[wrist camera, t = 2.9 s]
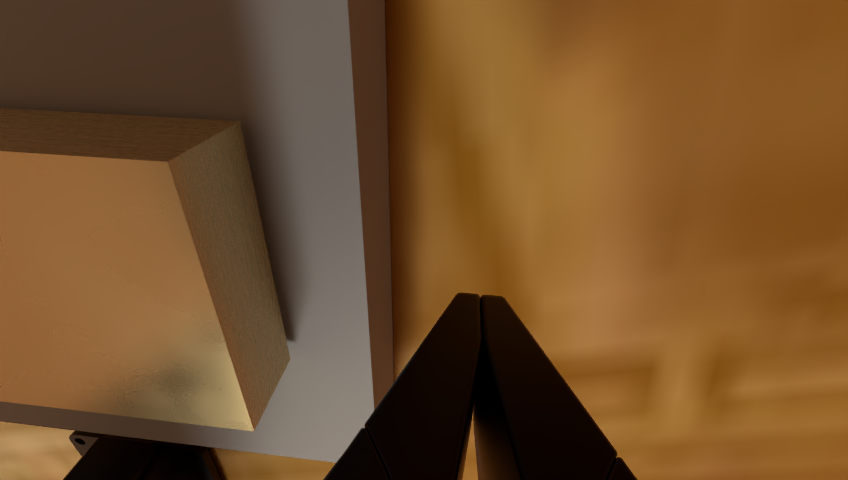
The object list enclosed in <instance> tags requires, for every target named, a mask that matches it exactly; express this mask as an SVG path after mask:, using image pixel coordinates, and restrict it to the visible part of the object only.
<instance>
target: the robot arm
mask: <svg viewBox="0 0 848 480" xmlns="http://www.w3.org/2000/svg"><path fill="white" fill-rule="evenodd" d="M472 414H473V421H474V436H475V447H476V459H477V470H478V480H637V479H636V477H635V476H634V475H633V473H632V472H631V470H630V469H629V468H628V466H627V465H626V464H625V462H624V461H623V459H622V458H620V457H617V452H616V450H615V449H614V447H613V446H612V445H611V443H610V442H609V441H608V439H607V438H606V436H605V435H604V434H603V432H602V431H601V430H600V428H599V427H598V425H597V424H596V423H595V421H594V420H593V419H592V417H591V416H590V414H589V413H588V412H587V410H586V409H585V408H584V406H583V405H582V404H581V402H580V401H579V399H578V398H577V397H576V395H575V394H574V393H573V391H572V390H571V388H570V387H569V386H568V384H567V383H566V382H565V380H564V379H563V377H562V376H561V375H560V373H559V372H558V371H557V369H556V368H555V366H554V365H553V364H552V362H551V361H550V360H549V358H548V357H547V356H546V354H545V353H544V351H543V350H542V349H541V347H540V346H539V345H538V343H537V342H536V340H535V339H534V338H533V336H532V335H531V334H530V332H529V331H528V329H527V328H526V327H525V325H524V324H523V323H522V321H521V320H520V318H519V317H518V316H517V314H516V313H515V312H514V310H513V309H512V308H511V306H510V305H509V303H508V302H507V301H506V299H505V298H504V297H502V296H494V295H482V296H481V298H480V296H479V295H478V294H471V293H458V294H457V295H456V296H455V297H454V298H453V300H452V301H451V303H450V304H449V306H448V307H447V308H446V310H445V311H444V313H443V314H442V315H441V317H440V318H439V320H438V321H437V322H436V324H435V325H434V327H433V328H432V330H431V331H430V332H429V334H428V335H427V337H426V338H425V339H424V341H423V342H422V344H421V345H420V346H419V348H418V349H417V351H416V352H415V353H414V355H413V356H412V358H411V359H410V361H409V362H408V363H407V365H406V366H405V368H404V369H403V370H402V372H401V373H400V375H399V376H398V377H397V379H396V380H395V382H394V383H393V385H392V386H391V387H390V389H389V390H388V392H387V393H386V394H385V396H384V397H383V399H382V400H381V401H380V403H379V404H378V406H377V407H376V409H375V410H374V411H373V413H372V414H371V416H370V417H369V418H368V420H367V421H366V423H365V425H364V427H365V428H361V429H360V431H359V432H358V434H357V435H356V436H355V438H354V439H353V441H352V442H351V443H350V445H349V446H348V448H347V449H346V450H345V452H344V453H343V454H342V456H341V457H340V458H339V460H338V461H337V462H336V464H335V465H334V466H333V468H332V469H331V470H330V471H329V473H328V474H327V475H326V477H325V478H324V479H323V480H462V478H463V472H464V466H465V460H466V453H467V447H468V441H469V435H470V428H471V421H472ZM69 439H70V441H71V442H72V443H73V445H74V446H75V448H76V449H77V450H78V452H79V453H80V455H81V456H82V457H81V459H80V460H79V461H78V462H77V463H76V465H75V466H74V467H73V468H72V469H71V471H70V472H69V473H68V474H67V475H66V476H65V478H64V479H63V480H221V478H220V476H219V473H218V471H217V469H216V467H215V464H214V462H213V460H212V457H211V455H210V453H209V450H208V448H207V447H205V446H197V445H189V444H181V443H173V442H165V441H157V440H148V439H140V438H132V437H124V436H116V435H108V434H100V433H92V432H84V431H76V430H75V431H74V432H73V433H72V434H71V435H70V437H69ZM616 457H617V458H616Z"/></svg>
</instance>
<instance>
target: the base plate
mask: <svg viewBox="0 0 848 480" xmlns="http://www.w3.org/2000/svg"><path fill="white" fill-rule="evenodd" d="M0 108H9V109H28V110H46V111H64V112H82V113H100V114H118V115H137V116H155V117H173V118H191V119H209V120H228V121H240V124H241V129H242V133H243V138H244V143H245V147H246V152H247V157H248V162H249V166H250V171H251V176H252V180H253V185H254V190H255V194H256V199H257V204H258V209H259V213H260V218H261V223H262V227H263V232H264V237H265V242H266V246H267V251H268V256H269V260H270V265H271V270H272V275H273V279H274V284H275V289H276V293H277V298H278V303H279V308H280V312H281V317H282V322H283V326H284V331H285V336H286V341H287V345H288V350H289V355H290V361H289V363H288V365H287V367H286V369H285V371H284V373H283V375H282V377H281V379H280V381H279V383H278V385H277V387H276V389H275V391H274V393H273V395H272V397H271V399H270V401H269V403H268V405H267V407H266V409H265V411H264V413H263V415H262V417H261V419H260V421H259V423H258V425H257V427H256V429H255V431H246V430H237V429H229V428H220V427H212V426H204V425H195V424H187V423H178V422H170V421H162V420H153V419H145V418H136V417H128V416H120V415H111V414H103V413H95V412H86V411H78V410H69V409H61V408H53V407H44V406H36V405H27V404H19V403H11V402H2V401H0V421H3V422H11V423H19V424H27V425H35V426H43V427H51V428H59V429H67V430H76V431H84V432H92V433H100V434H108V435H116V436H124V437H132V438H140V439H148V440H157V441H165V442H173V443H181V444H189V445H197V446H205V447H213V448H221V449H229V450H237V451H246V452H254V453H262V454H270V455H278V456H286V457H294V458H302V459H310V460H318V461H326V462H335V463H336V462H337V461H338V460H339V458H340V457H341V456H342V454H343V453H344V452H345V450H346V449H347V448H348V446H349V445H350V443H351V442H352V441H353V439H354V438H355V436H356V435H357V434H358V432H359V431H360V429H361V428H365V427H364V425H365V423H366V421H367V420H368V418H369V417H370V416H371V414H372V413H373V411H374V410H375V409H376V407H377V406H378V404H379V403H380V401H381V400H382V399H383V397H384V396H385V394H386V393H387V392H388V390H389V389H390V387H391V386H392V385H393V383H394V364H393V323H392V282H391V240H390V199H389V158H388V117H387V76H386V34H385V0H0Z"/></svg>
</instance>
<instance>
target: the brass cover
mask: <svg viewBox="0 0 848 480" xmlns="http://www.w3.org/2000/svg"><path fill="white" fill-rule="evenodd" d="M289 361H290V355H289V350H288V345H287V341H286V336H285V331H284V326H283V322H282V317H281V312H280V308H279V303H278V298H277V293H276V289H275V284H274V279H273V275H272V270H271V265H270V260H269V256H268V251H267V246H266V242H265V237H264V232H263V227H262V223H261V218H260V213H259V209H258V204H257V199H256V194H255V190H254V185H253V180H252V176H251V171H250V166H249V162H248V157H247V152H246V147H245V143H244V138H243V133H242V129H241V124H240V121H228V120H209V119H191V118H173V117H155V116H137V115H118V114H100V113H82V112H64V111H46V110H28V109H9V108H0V401H2V402H11V403H19V404H27V405H36V406H44V407H53V408H61V409H69V410H78V411H86V412H95V413H103V414H111V415H120V416H128V417H136V418H145V419H153V420H162V421H170V422H178V423H187V424H195V425H204V426H212V427H220V428H229V429H237V430H246V431H255V429H256V427H257V425H258V423H259V421H260V419H261V417H262V415H263V413H264V411H265V409H266V407H267V405H268V403H269V401H270V399H271V397H272V395H273V393H274V391H275V389H276V387H277V385H278V383H279V381H280V379H281V377H282V375H283V373H284V371H285V369H286V367H287V365H288V363H289Z"/></svg>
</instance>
